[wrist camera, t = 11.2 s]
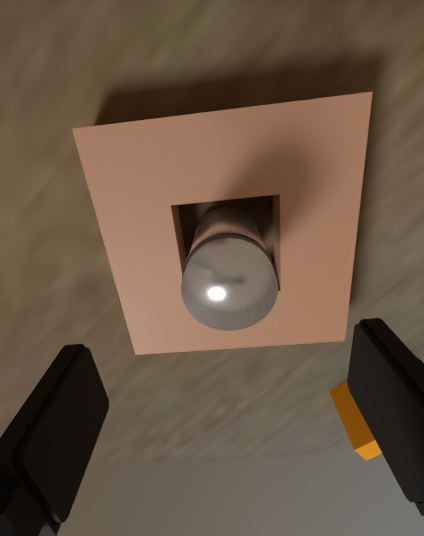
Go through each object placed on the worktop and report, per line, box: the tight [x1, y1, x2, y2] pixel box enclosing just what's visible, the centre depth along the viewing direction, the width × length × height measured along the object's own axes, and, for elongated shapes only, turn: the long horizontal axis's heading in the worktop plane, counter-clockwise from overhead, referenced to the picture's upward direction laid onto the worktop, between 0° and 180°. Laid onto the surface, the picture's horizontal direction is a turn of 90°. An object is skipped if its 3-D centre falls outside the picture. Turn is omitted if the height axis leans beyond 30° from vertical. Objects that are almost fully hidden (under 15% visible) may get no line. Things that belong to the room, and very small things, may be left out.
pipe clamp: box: [330, 381, 382, 460], centre depth 29 cm, size 12×4×6 cm, turn 45°
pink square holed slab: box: [72, 92, 373, 355], centre depth 22 cm, size 18×18×3 cm
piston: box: [181, 206, 278, 331], centre depth 19 cm, size 5×5×9 cm
